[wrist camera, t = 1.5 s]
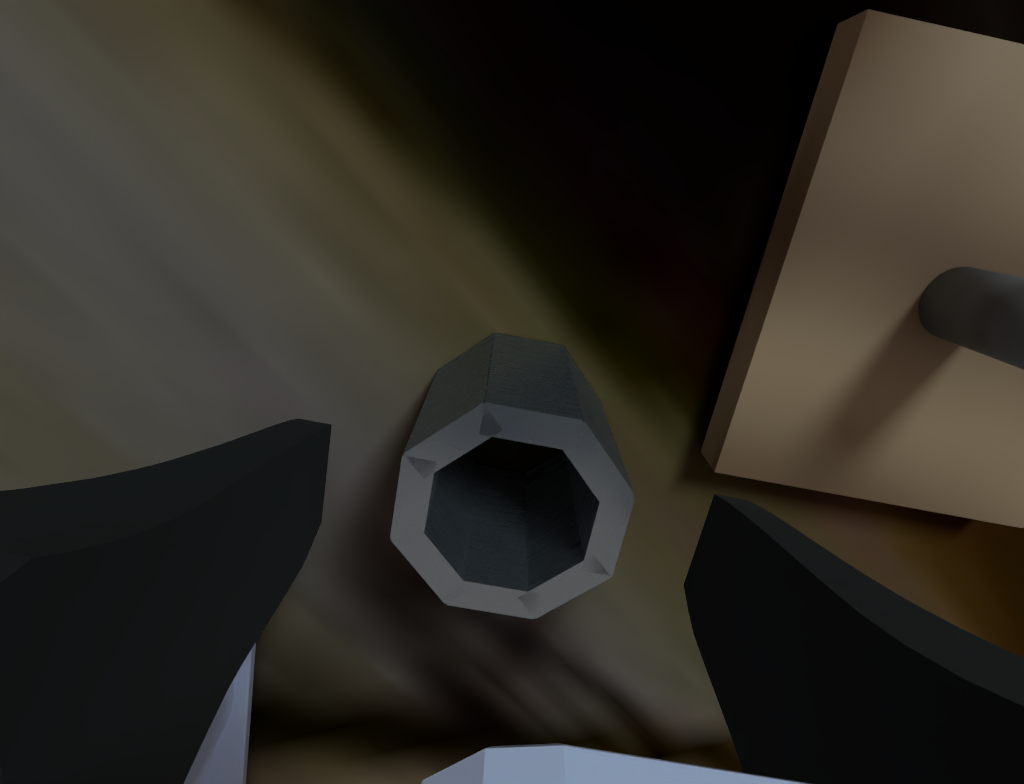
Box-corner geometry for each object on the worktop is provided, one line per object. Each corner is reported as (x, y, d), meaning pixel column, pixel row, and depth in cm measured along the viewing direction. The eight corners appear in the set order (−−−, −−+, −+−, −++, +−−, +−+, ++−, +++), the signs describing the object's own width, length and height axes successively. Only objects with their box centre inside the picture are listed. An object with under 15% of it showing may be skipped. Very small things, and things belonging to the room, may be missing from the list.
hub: (574, 502, 17) (596, 629, 12) (420, 475, 17) (381, 594, 12) (612, 354, 15) (653, 433, 11) (444, 323, 15) (411, 389, 10)
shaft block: (988, 504, 17) (1201, 652, 12) (701, 451, 16) (787, 581, 11) (1189, 102, 13) (1611, 56, 8) (837, 23, 13) (1050, -79, 8)
